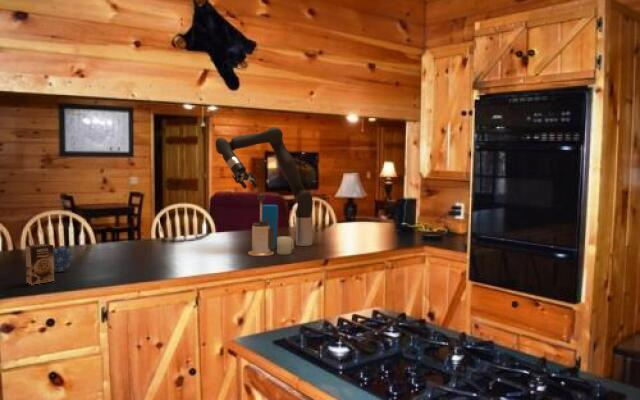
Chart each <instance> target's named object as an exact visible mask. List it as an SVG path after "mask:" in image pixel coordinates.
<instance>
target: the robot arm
mask: <svg viewBox="0 0 640 400" xmlns="http://www.w3.org/2000/svg"><path fill="white" fill-rule="evenodd" d="M283 137H284V135H283V131H282V130H281V129H280V128H279V127H274V126H273V127H270V128H268V129H267V130H264V131H262V132H258V133H252V134H244V135H240V136H235V137H232V138H231V140H230V141H228V140H227V139H226V138H224V137H218V138H216V140H215V149H216V150H215V151H216V153H218V154H219V155H221V156H222V159H223V160H224V163H226V165H227V166H228V169H230V171H231V173H232V175H231V176H232V178H233V180H234V182H235V183H236V184H240V186H241V187H242V188H243V189H246V188H247V187H248V185H247V184H246V183H245V182H248V183H250V184H251V185H252V186H253V188H254V189H256V188H258V183H257V182H256V180H257V178H256V176H255V175H254V174H253V173H252V172H251V171H250V172H249V173H248V172H247V168H246V166H245V165H244V163H242V161H241V160H240V158H239V157H238V156H237V155H236V153H235V152H234V151H236V150H239V149H244V148H248V147H253V146H257V145H261V144H269V145H270V146H271V148H272V150H273V152H274V154H275V158H276V160H277V162H278V165H279V168H280V169H281V171H282V174H283V175H284V178H285V179H286V181H287V183H288V185H289V187H290V189H291V192H292V195H293V198H294V200H295V202H296V204H297V211H296V212H295V245H296V246H298V247H299V246H300V247H303V246H304V247H307V246H309V247H310V246H312V245H313V229H312V213H313V201H314V200H313V196H312V193H311V192H309V191H307V190H306V188H305V187H304V185H303V183H302V180H301V177H300V171H299V168H298V166H297V164H296V161H295V159H294V158H293V156H292V155H291V153H290V151H289V150H288V149H287V147H286V145H285V142H284V141H283ZM244 181H245V182H244Z"/></svg>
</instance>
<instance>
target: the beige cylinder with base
mask: <svg viewBox="0 0 640 400" xmlns="http://www.w3.org/2000/svg"><path fill="white" fill-rule="evenodd" d="M251 231H252V232H251V236H252V237H251V249H252V250H251V251H248V253H247V254H248V255H249V256H253V257H268V256H273V255H274V254H275V253H274V251H273V250H275V248H274V229H270V225H269V223H262V224H260V222H254V223H252V228H251Z"/></svg>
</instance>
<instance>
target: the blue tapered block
mask: <svg viewBox="0 0 640 400" xmlns="http://www.w3.org/2000/svg"><path fill="white" fill-rule="evenodd" d="M262 223H269V225H270V229H274V249H277V237H279V205H277V204H262Z"/></svg>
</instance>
